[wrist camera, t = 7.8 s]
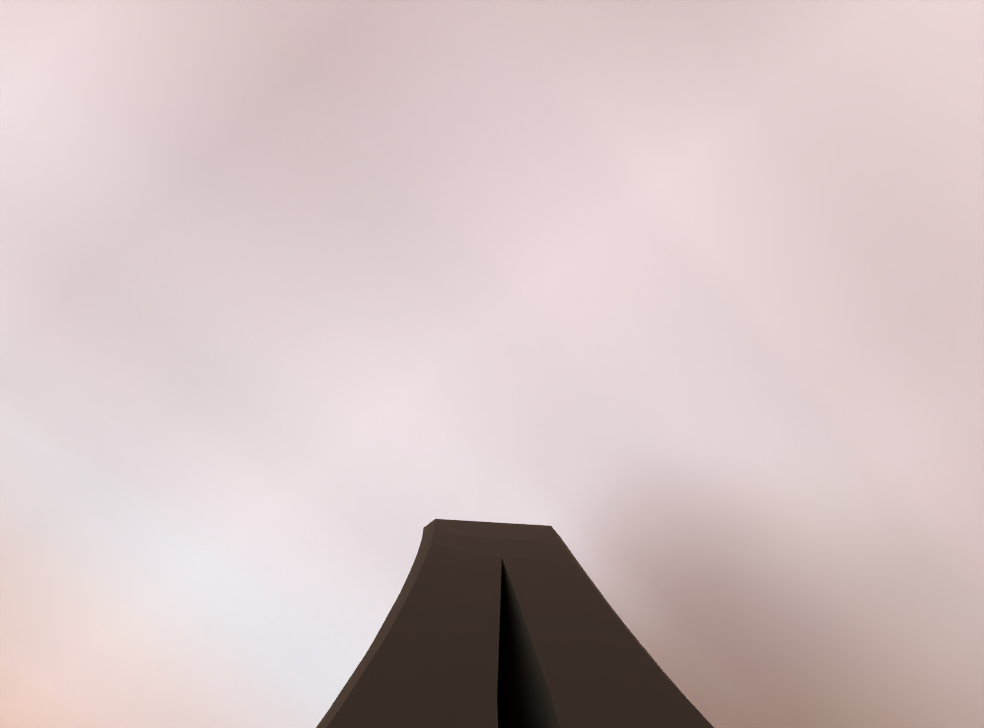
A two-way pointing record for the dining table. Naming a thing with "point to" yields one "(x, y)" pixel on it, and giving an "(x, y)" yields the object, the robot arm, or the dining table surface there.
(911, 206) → the dining table surface
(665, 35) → the dining table surface
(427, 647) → the robot arm
